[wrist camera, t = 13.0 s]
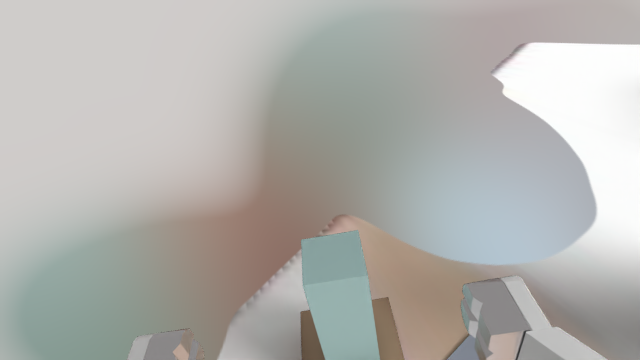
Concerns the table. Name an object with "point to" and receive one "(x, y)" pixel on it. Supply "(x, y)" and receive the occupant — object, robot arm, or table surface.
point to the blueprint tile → (465, 350)
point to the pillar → (340, 296)
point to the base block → (384, 330)
